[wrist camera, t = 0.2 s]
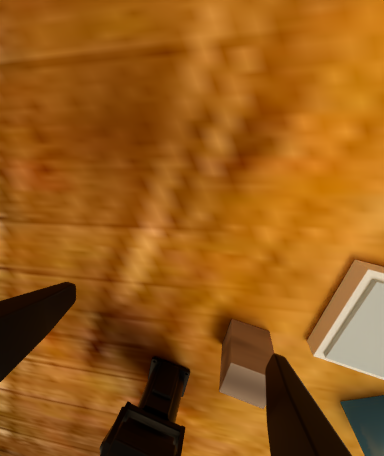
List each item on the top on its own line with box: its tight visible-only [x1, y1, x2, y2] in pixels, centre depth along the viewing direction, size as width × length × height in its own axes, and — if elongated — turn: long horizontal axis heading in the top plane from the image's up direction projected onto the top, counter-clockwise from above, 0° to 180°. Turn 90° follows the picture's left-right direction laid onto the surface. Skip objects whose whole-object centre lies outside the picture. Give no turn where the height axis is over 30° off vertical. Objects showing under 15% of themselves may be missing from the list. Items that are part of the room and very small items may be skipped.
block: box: [219, 319, 274, 409], centre depth 22 cm, size 5×5×6 cm
